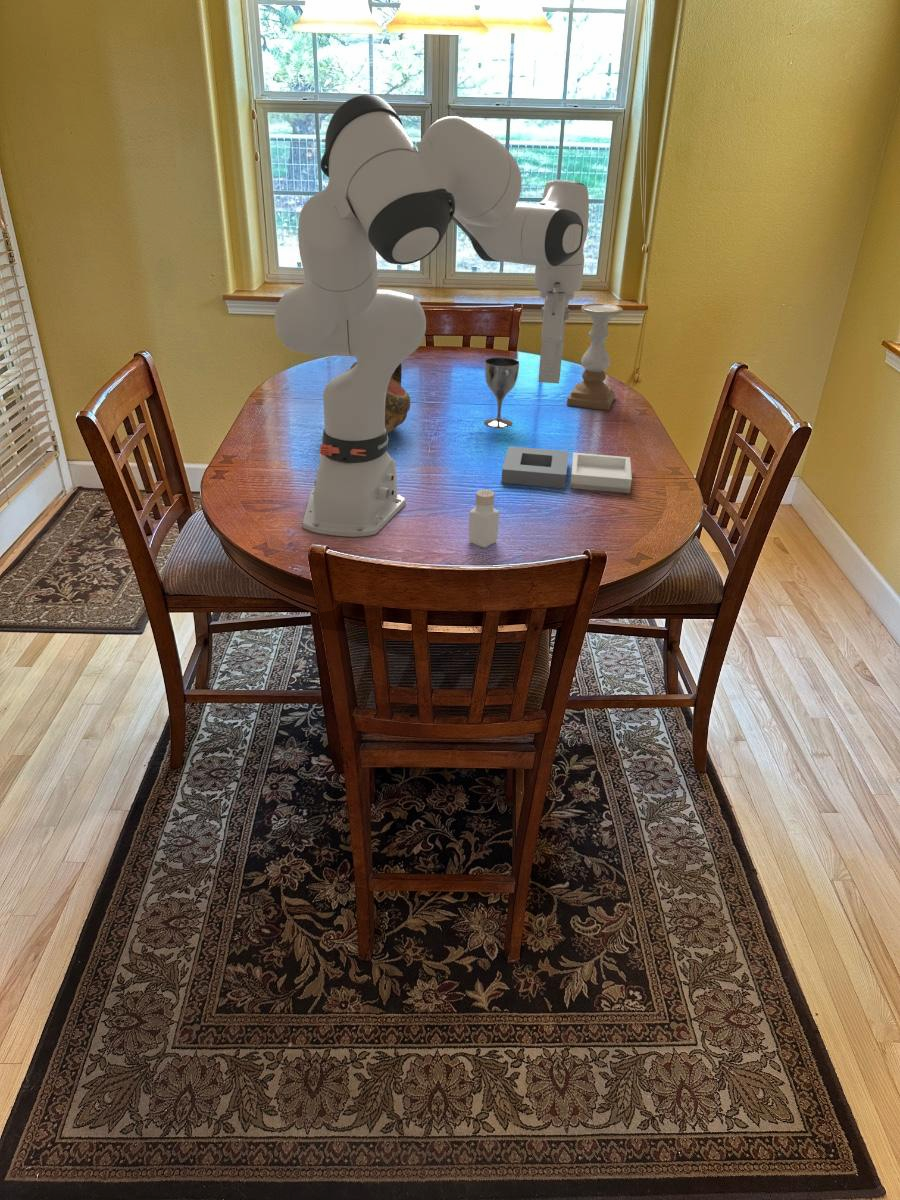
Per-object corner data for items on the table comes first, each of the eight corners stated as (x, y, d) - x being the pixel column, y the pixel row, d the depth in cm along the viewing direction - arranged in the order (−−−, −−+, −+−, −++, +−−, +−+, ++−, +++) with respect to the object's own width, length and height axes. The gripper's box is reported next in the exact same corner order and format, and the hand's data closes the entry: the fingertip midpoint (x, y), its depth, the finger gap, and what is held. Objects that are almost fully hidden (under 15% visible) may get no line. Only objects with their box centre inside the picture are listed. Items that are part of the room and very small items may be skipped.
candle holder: (608, 410, 205) (621, 314, 192) (565, 405, 208) (575, 309, 195) (614, 398, 214) (627, 305, 201) (574, 393, 217) (584, 300, 204)
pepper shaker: (484, 549, 140) (486, 500, 135) (466, 542, 142) (468, 493, 137) (498, 542, 143) (501, 493, 138) (481, 534, 145) (483, 486, 140)
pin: (561, 384, 156) (568, 312, 149) (535, 382, 157) (540, 311, 149) (562, 376, 160) (570, 306, 153) (536, 375, 161) (542, 305, 154)
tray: (629, 493, 162) (631, 479, 160) (569, 487, 163) (571, 474, 162) (628, 470, 172) (630, 457, 170) (571, 465, 173) (573, 452, 172)
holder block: (564, 488, 163) (566, 474, 161) (501, 482, 165) (502, 469, 163) (567, 464, 174) (568, 451, 172) (507, 459, 176) (508, 446, 174)
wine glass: (504, 431, 190) (509, 368, 182) (476, 424, 194) (478, 362, 186) (520, 422, 196) (525, 360, 188) (492, 415, 200) (495, 354, 192)
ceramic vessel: (312, 449, 178) (304, 333, 164) (360, 413, 199) (357, 308, 185) (383, 460, 173) (381, 342, 160) (425, 422, 194) (426, 315, 181)
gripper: (573, 290, 139) (565, 369, 147) (577, 269, 156) (569, 341, 164) (537, 288, 140) (531, 367, 147) (544, 267, 157) (538, 339, 165)
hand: (551, 353), depth 156 cm, fingers closed on pin, 4 cm apart
